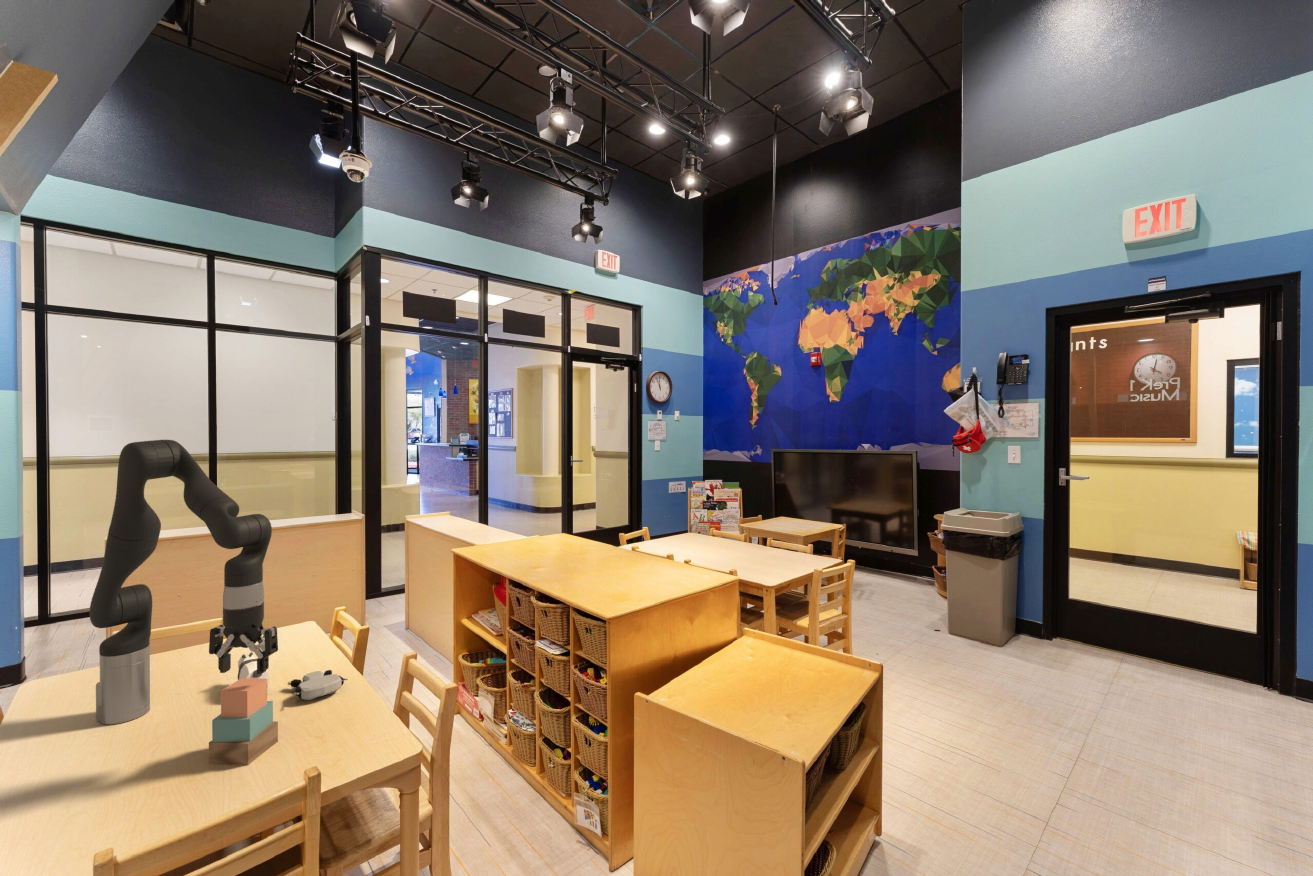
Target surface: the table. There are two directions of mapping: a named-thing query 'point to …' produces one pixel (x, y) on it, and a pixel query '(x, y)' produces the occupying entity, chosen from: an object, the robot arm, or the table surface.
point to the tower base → (243, 748)
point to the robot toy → (317, 684)
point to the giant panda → (250, 668)
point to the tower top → (242, 725)
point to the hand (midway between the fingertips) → (243, 672)
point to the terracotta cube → (243, 697)
